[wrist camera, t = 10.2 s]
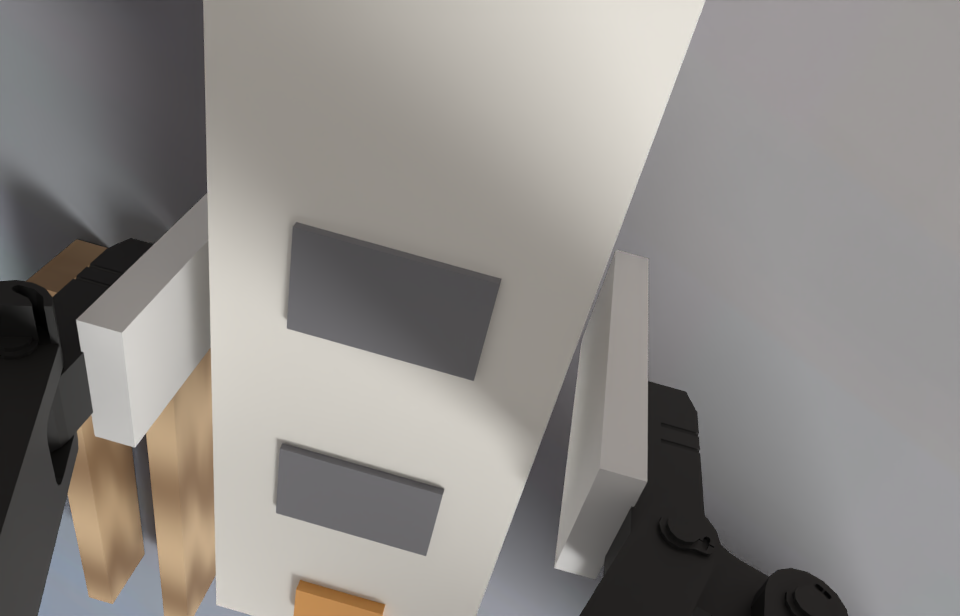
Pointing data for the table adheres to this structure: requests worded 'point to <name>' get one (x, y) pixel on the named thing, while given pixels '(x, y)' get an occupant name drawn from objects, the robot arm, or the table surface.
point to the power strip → (406, 274)
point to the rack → (174, 481)
